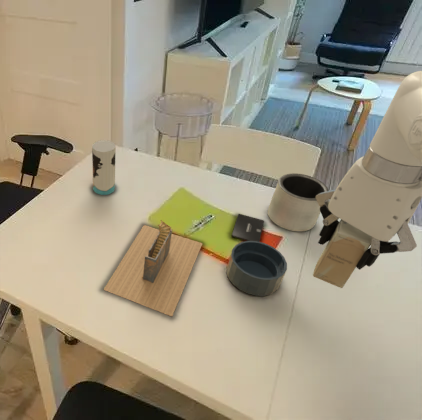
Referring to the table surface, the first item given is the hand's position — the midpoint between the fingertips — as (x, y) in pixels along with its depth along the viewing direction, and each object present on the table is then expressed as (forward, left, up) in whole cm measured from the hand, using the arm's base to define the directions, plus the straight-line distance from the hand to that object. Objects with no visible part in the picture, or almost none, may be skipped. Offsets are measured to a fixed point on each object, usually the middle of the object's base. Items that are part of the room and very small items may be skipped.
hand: (343, 252), depth 64 cm
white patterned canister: (+64, +9, -22) cm, 68 cm away
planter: (+24, -28, -22) cm, 43 cm away
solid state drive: (+27, -14, -22) cm, 37 cm away
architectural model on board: (+30, +15, -22) cm, 40 cm away
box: (0, 0, -6) cm, 6 cm away
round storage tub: (+15, -2, -22) cm, 26 cm away
